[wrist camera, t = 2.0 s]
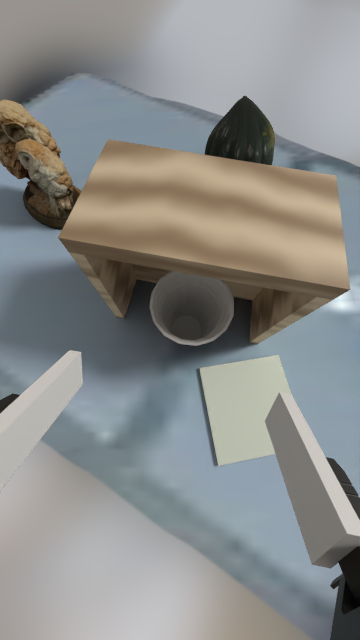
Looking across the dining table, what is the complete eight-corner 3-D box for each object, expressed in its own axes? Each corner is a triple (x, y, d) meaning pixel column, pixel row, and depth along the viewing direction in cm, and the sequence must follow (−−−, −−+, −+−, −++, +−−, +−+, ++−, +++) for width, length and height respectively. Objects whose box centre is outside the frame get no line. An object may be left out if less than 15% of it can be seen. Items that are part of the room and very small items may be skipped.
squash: (267, 193, 42) (298, 91, 34) (196, 182, 43) (212, 81, 36) (256, 199, 54) (277, 125, 47) (201, 190, 55) (214, 117, 48)
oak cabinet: (257, 343, 36) (350, 289, 17) (116, 317, 37) (58, 237, 18) (261, 275, 41) (336, 175, 22) (137, 253, 42) (107, 139, 23)
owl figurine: (9, 203, 46) (-79, 99, 30) (49, 175, 49) (-10, 69, 33) (66, 240, 42) (2, 146, 27) (104, 207, 46) (68, 107, 30)
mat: (306, 446, 31) (308, 446, 30) (217, 464, 29) (218, 465, 29) (276, 355, 35) (278, 355, 35) (199, 368, 34) (199, 368, 34)
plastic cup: (147, 349, 35) (135, 328, 24) (167, 296, 39) (164, 256, 27) (207, 368, 34) (224, 356, 23) (221, 312, 38) (242, 278, 27)
